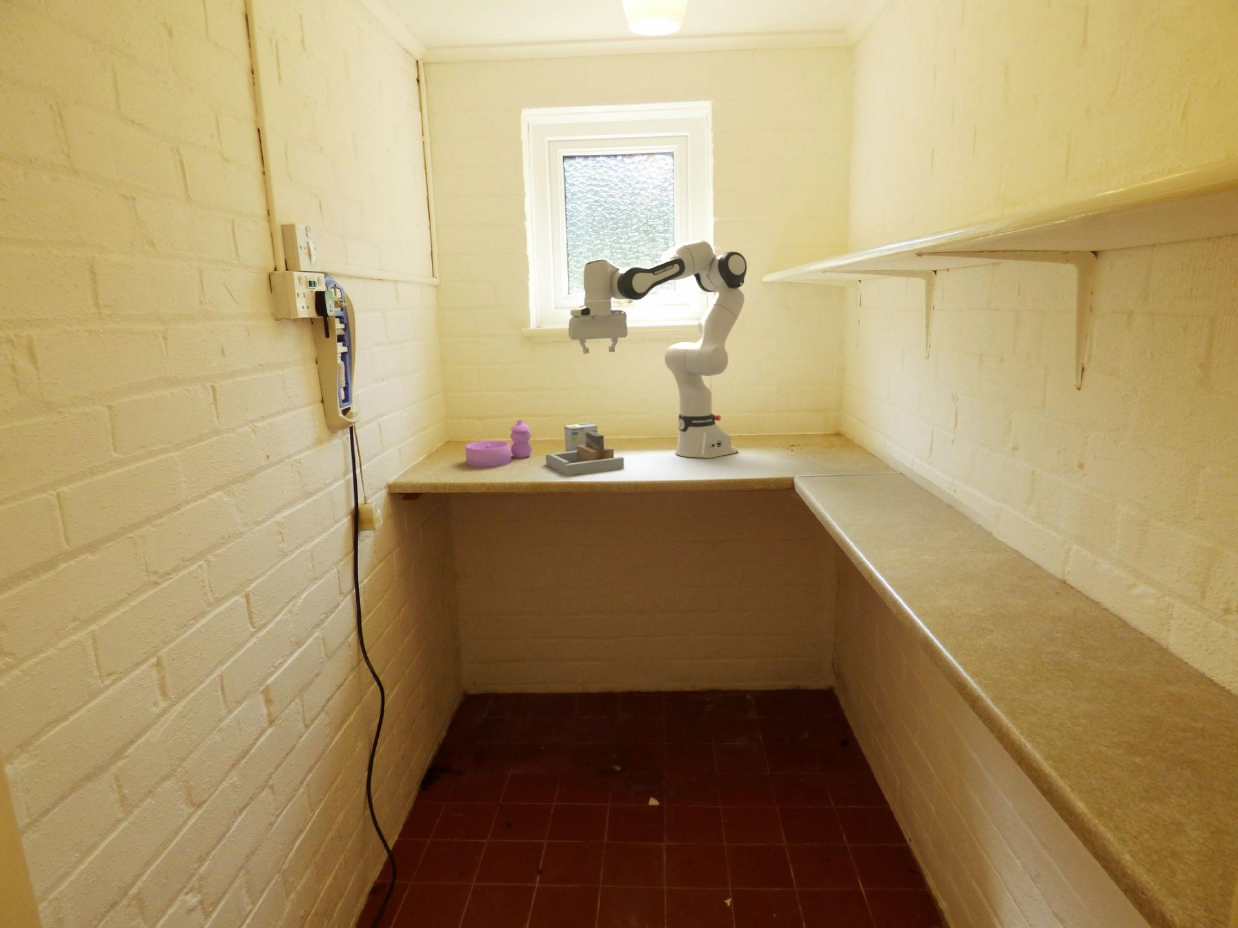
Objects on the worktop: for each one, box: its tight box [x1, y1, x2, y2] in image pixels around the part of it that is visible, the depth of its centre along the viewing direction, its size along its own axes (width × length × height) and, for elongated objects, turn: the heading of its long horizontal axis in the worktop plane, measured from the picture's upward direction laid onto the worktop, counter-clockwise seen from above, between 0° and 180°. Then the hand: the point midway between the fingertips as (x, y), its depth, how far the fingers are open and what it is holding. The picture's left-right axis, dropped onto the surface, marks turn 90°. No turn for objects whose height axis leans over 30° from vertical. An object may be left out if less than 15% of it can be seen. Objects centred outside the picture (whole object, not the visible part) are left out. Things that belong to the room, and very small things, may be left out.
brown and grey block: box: [576, 432, 615, 463], centre depth 241 cm, size 8×12×10 cm, turn 27°
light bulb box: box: [563, 422, 599, 452], centre depth 258 cm, size 11×7×11 cm, turn 115°
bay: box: [545, 451, 625, 477], centre depth 240 cm, size 20×19×4 cm
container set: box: [464, 419, 533, 469], centre depth 251 cm, size 25×15×13 cm, turn 132°
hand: (599, 352), depth 238 cm, fingers open, 8 cm apart
